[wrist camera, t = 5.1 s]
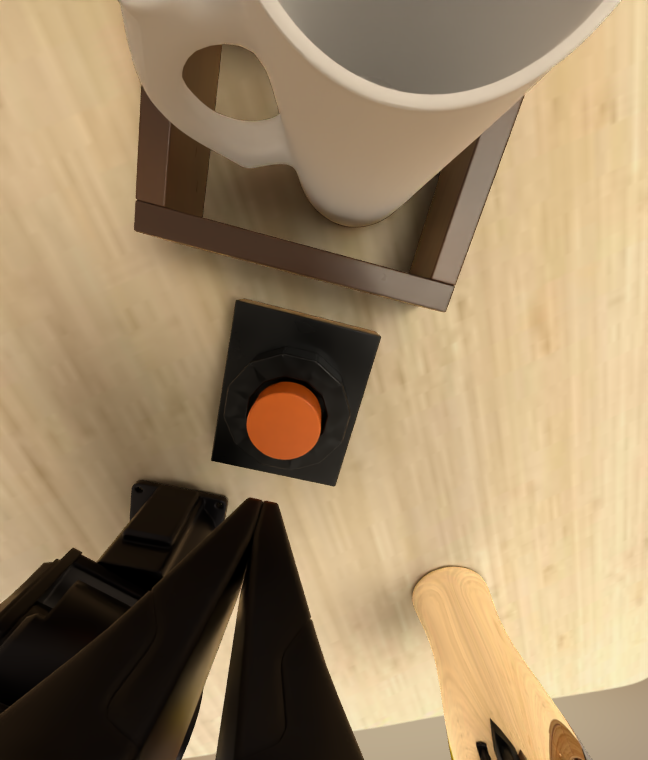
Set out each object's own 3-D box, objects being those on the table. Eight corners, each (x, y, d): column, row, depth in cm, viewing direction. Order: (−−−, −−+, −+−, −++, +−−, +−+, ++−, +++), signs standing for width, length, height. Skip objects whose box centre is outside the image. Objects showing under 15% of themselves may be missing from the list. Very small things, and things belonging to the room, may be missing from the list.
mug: (421, 65, 14) (848, -891, 3) (427, 222, 16) (682, 68, 5) (213, 102, 14) (-201, -586, 3) (243, 251, 16) (64, 174, 5)
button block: (334, 471, 21) (336, 506, 17) (219, 447, 20) (199, 478, 17) (376, 331, 18) (388, 342, 15) (243, 298, 17) (224, 301, 14)
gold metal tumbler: (413, 559, 23) (558, 999, 9) (501, 563, 23) (783, 1001, 9) (400, 622, 25) (501, 1060, 11) (481, 625, 25) (684, 1061, 11)
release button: (312, 448, 17) (311, 467, 15) (248, 434, 16) (240, 451, 15) (328, 389, 16) (329, 402, 14) (260, 374, 15) (253, 385, 14)
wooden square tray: (419, 306, 17) (445, 312, 14) (177, 243, 16) (133, 230, 13) (496, 76, 14) (560, -1, 10) (201, -22, 13) (152, -147, 9)
